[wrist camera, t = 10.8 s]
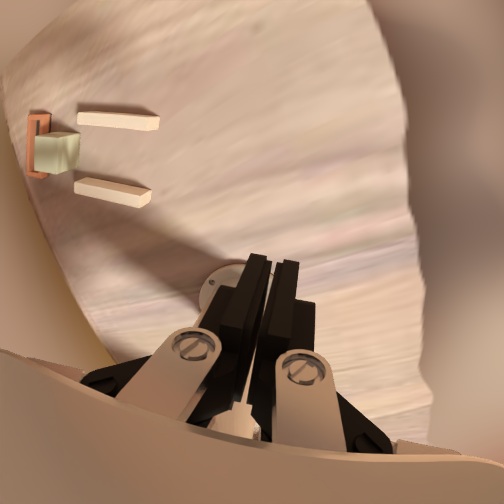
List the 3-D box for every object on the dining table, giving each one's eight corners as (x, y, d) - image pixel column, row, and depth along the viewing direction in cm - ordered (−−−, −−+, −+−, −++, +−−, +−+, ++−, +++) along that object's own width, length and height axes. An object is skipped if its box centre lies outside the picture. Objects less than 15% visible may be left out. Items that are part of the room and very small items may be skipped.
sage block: (79, 166, 39) (56, 174, 35) (56, 163, 40) (34, 170, 35) (80, 133, 37) (57, 137, 33) (57, 131, 37) (34, 136, 33)
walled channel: (150, 201, 39) (139, 208, 37) (86, 187, 40) (74, 193, 38) (159, 116, 34) (148, 117, 32) (91, 111, 35) (78, 112, 33)
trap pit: (49, 176, 41) (41, 178, 39) (34, 173, 41) (26, 175, 39) (51, 113, 36) (43, 114, 35) (35, 113, 37) (28, 114, 35)
